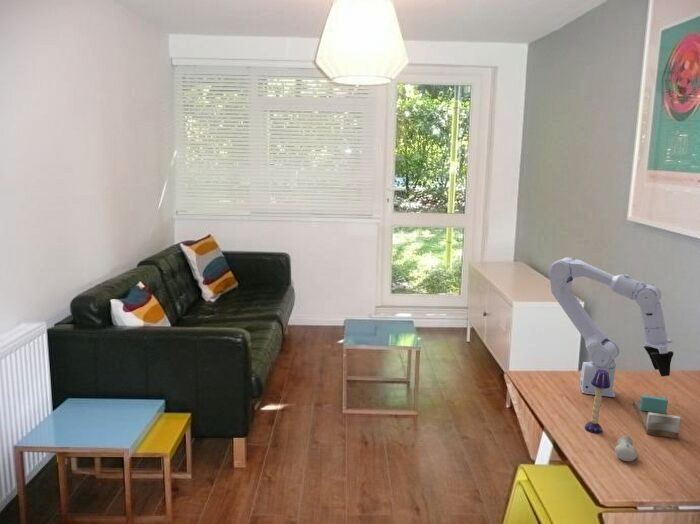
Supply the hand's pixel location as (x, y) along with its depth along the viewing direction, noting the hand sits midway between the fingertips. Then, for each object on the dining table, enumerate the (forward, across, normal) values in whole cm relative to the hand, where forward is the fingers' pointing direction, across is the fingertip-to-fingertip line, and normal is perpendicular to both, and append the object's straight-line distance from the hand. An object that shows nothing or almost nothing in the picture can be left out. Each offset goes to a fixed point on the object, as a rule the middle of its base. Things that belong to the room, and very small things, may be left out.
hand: (661, 372), depth 170 cm
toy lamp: (+8, -20, +22) cm, 31 cm away
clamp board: (+11, -9, +6) cm, 15 cm away
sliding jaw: (+9, -7, +5) cm, 12 cm away
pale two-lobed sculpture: (+11, -32, +17) cm, 38 cm away
